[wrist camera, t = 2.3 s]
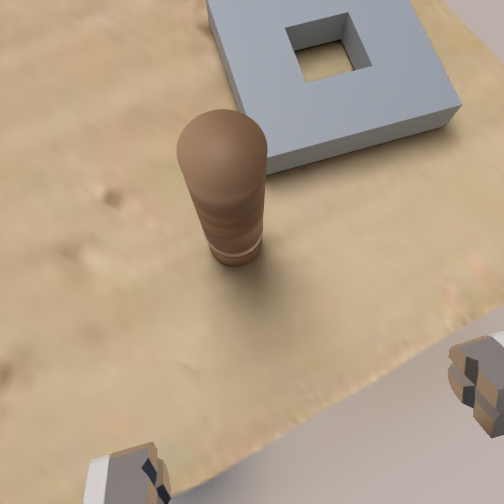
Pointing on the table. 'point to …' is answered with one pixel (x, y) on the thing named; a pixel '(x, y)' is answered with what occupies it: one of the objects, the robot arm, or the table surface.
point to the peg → (226, 181)
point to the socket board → (335, 87)
